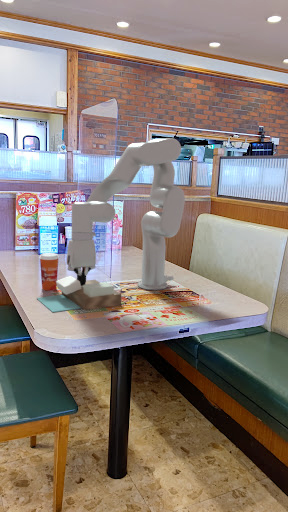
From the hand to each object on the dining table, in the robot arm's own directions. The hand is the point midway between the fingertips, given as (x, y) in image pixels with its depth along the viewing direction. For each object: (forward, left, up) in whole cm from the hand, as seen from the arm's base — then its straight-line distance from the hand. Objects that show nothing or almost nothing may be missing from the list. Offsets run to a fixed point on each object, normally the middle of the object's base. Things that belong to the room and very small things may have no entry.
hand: (81, 284), depth 150 cm
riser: (-2, +3, -5) cm, 6 cm away
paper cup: (+7, -16, -5) cm, 18 cm away
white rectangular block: (+5, 0, -1) cm, 5 cm away
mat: (+10, +3, -5) cm, 12 cm away
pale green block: (-2, +10, -1) cm, 10 cm away
